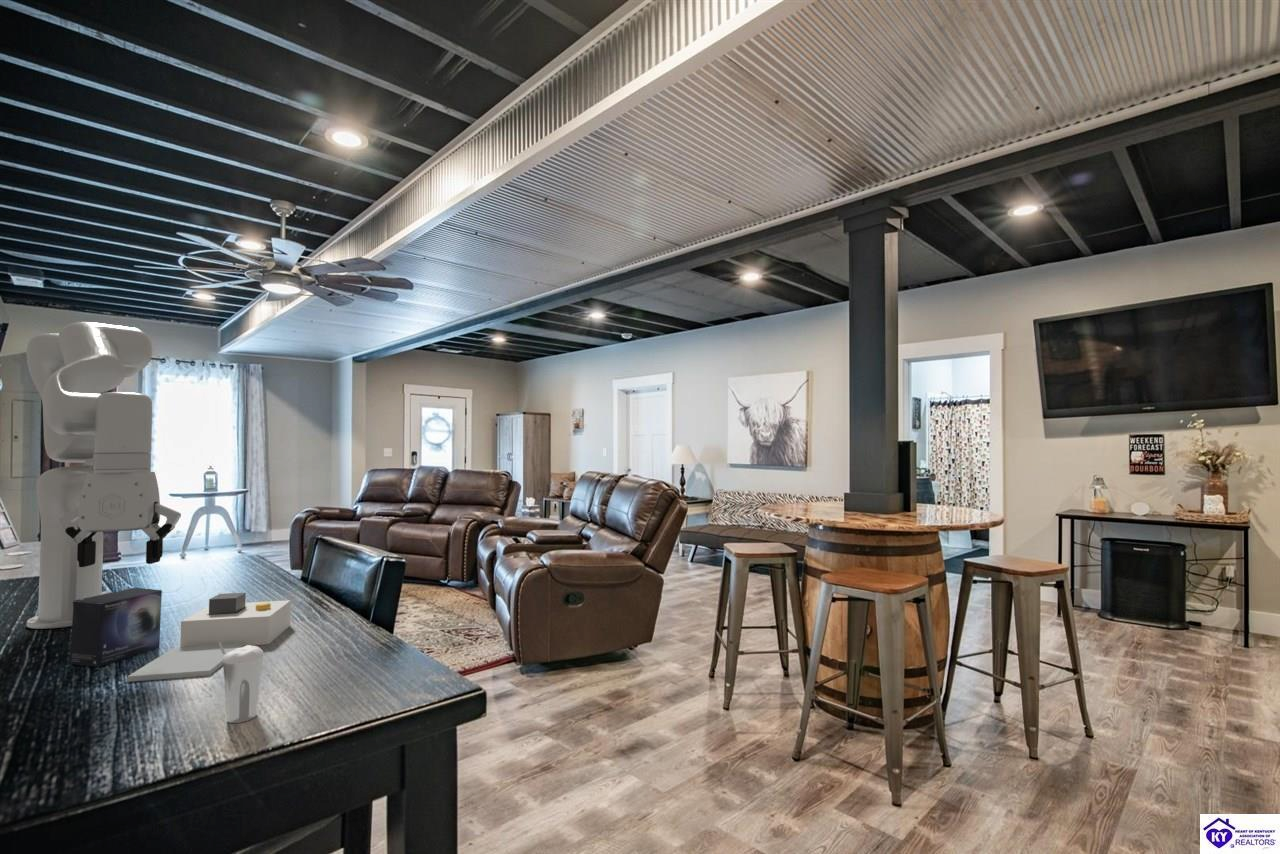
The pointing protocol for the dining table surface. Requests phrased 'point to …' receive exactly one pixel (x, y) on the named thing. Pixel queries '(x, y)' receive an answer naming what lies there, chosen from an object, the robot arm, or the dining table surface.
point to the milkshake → (242, 682)
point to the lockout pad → (184, 662)
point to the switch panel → (237, 625)
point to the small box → (115, 626)
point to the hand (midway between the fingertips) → (120, 564)
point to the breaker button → (227, 603)
